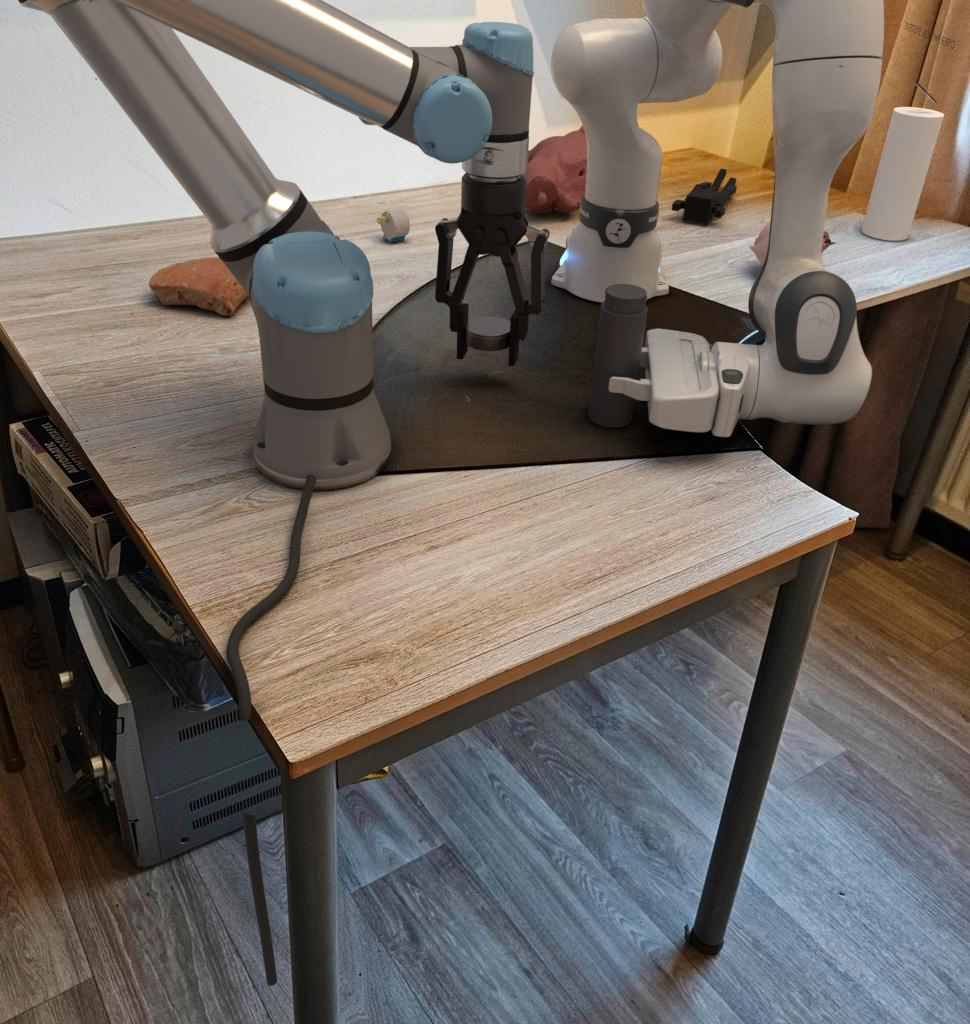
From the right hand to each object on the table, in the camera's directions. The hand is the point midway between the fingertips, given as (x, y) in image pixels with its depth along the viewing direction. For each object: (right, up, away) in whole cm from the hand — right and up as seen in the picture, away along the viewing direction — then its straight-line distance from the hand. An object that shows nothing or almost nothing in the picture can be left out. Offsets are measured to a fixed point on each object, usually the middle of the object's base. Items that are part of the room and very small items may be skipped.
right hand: (608, 370), depth 115 cm
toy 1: (+31, +45, +81) cm, 98 cm away
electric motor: (-31, +31, +54) cm, 70 cm away
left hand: (-15, +3, +8) cm, 17 cm away
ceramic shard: (-57, +16, +30) cm, 66 cm away
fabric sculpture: (+3, +44, +77) cm, 89 cm away
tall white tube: (+61, +37, +70) cm, 100 cm away
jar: (+1, -5, +4) cm, 6 cm away
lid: (-14, +6, +6) cm, 17 cm away
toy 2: (+36, +24, +50) cm, 66 cm away
